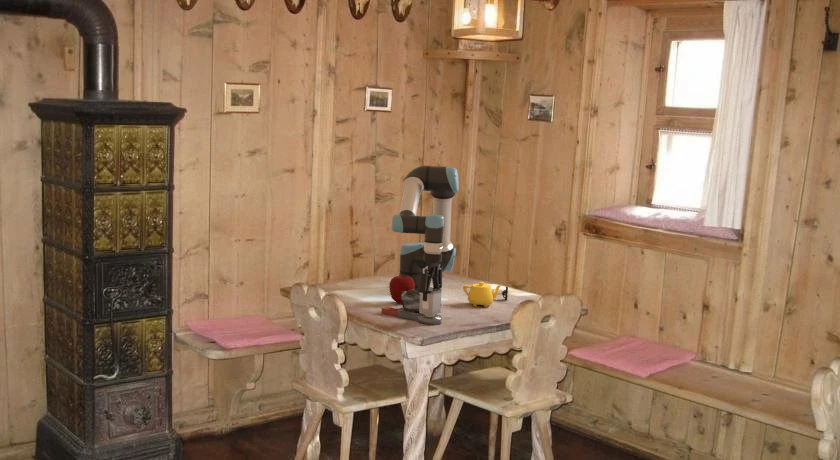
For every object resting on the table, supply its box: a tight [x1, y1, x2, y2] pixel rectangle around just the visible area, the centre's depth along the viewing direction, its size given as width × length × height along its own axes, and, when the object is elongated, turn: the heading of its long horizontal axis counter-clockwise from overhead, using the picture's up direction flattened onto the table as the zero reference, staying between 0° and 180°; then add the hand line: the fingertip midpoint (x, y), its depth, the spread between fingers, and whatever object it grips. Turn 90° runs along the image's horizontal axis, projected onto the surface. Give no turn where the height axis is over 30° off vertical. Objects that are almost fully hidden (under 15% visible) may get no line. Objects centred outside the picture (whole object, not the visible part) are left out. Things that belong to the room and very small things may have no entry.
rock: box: [401, 289, 420, 313], centre depth 369 cm, size 14×11×10 cm
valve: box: [489, 284, 509, 301], centre depth 402 cm, size 7×7×12 cm
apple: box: [388, 275, 415, 305], centre depth 383 cm, size 12×12×13 cm
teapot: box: [462, 281, 503, 308], centre depth 387 cm, size 18×11×11 cm, turn 87°
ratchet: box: [380, 306, 443, 326], centre depth 356 cm, size 28×10×8 cm, turn 58°
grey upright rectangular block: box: [418, 286, 443, 316], centre depth 350 cm, size 6×6×10 cm
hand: (430, 307), depth 351 cm, fingers closed on grey upright rectangular block, 6 cm apart
